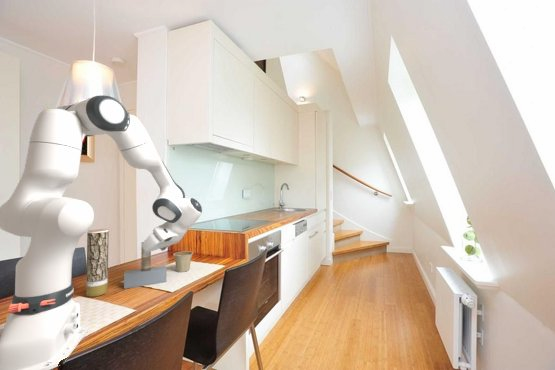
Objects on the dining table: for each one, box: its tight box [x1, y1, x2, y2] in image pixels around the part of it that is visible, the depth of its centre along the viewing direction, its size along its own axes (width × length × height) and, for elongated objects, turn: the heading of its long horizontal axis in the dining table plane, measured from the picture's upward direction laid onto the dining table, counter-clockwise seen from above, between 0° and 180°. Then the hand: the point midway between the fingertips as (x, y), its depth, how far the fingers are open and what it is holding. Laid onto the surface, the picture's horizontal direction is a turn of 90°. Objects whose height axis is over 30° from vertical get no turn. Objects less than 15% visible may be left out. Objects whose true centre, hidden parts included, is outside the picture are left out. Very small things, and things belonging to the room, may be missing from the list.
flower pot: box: [172, 250, 194, 273], centre depth 126 cm, size 9×9×9 cm
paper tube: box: [85, 228, 110, 298], centre depth 98 cm, size 7×7×25 cm
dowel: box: [140, 241, 152, 271], centre depth 108 cm, size 4×4×12 cm
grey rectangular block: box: [123, 265, 167, 290], centre depth 108 cm, size 16×4×6 cm, turn 119°
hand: (154, 251), depth 107 cm, fingers open, 8 cm apart
